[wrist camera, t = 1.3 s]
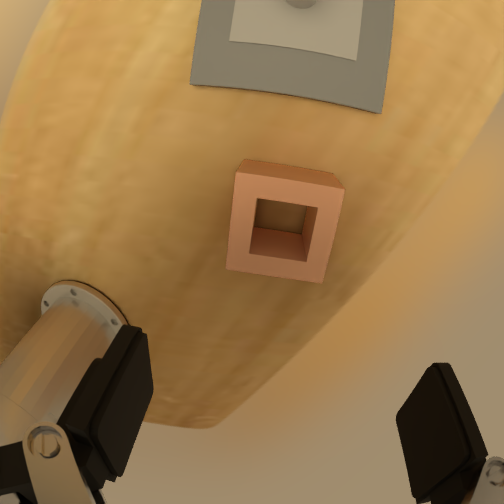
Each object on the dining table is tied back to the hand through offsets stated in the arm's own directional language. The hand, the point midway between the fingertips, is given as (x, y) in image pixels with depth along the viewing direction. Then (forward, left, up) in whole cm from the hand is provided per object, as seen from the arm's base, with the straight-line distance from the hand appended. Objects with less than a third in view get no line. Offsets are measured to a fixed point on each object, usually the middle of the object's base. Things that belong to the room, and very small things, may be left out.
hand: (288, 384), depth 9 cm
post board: (+17, +1, -18) cm, 25 cm away
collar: (0, 0, -18) cm, 18 cm away
